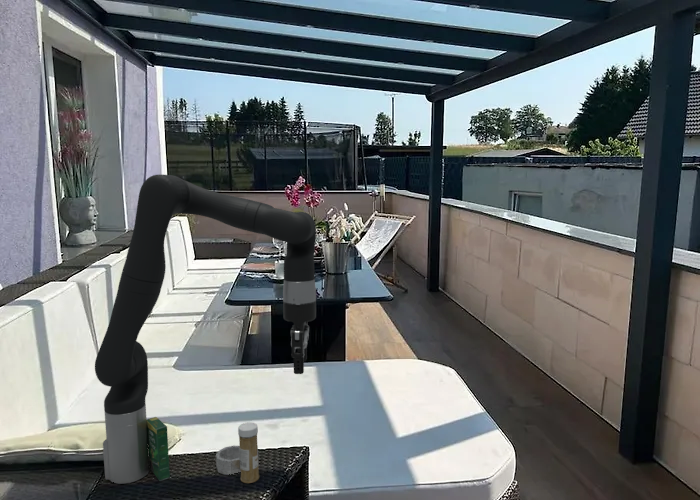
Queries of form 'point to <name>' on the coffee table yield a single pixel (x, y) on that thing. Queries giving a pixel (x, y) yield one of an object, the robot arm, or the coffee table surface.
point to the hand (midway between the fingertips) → (300, 367)
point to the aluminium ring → (228, 460)
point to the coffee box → (158, 448)
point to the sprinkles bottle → (248, 452)
